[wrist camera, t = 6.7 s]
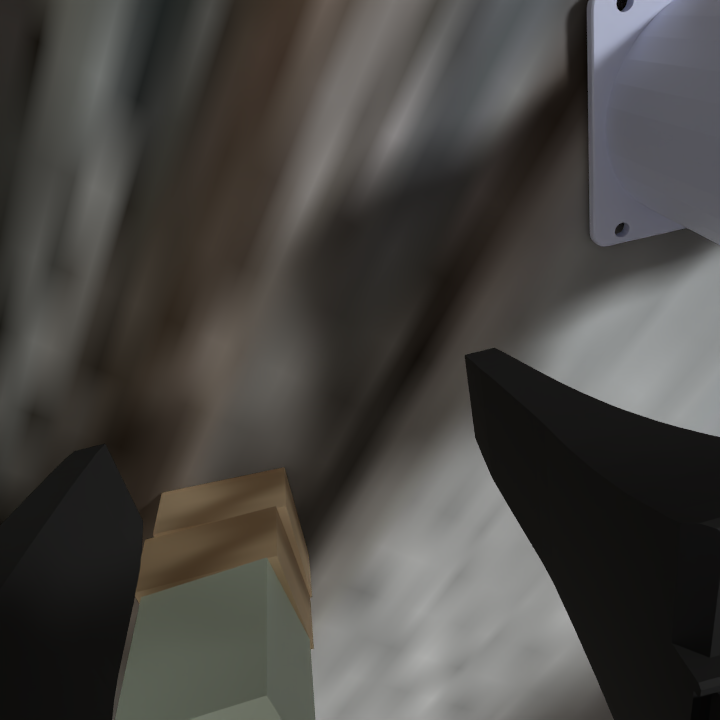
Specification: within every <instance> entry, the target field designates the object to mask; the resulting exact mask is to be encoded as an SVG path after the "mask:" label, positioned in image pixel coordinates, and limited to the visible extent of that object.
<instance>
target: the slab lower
mask: <svg viewBox="0 0 720 720" xmlns="http://www.w3.org/2000/svg"><path fill="white" fill-rule="evenodd" d="M274 506H276V508H277V510H278V513H279V515H280V518H281V521H282V523H283V526H284V529H285V531H286V534H287V537H288V539H289V542H290V545H291V547H292V550H293V552H294V555H295V558H296V560H297V563H298V566H299V568H300V571H301V574H302V576H303V579H304V582H305V584H306V587H307V589H308V592H309V595H310V597H312V589H311V577H310V564H309V554H308V550H307V547H306V543H305V540H304V536H303V532H302V529H301V525H300V522H299V518H298V514H297V511H296V507H295V504H294V500H293V496H292V493H291V489H290V486H289V482H288V478H287V475H286V471H285V468H284V467H283V468H278V469H273V470H268V471H264V472H259V473H254V474H249V475H244V476H240V477H235V478H230V479H225V480H221V481H216V482H211V483H206V484H201V485H197V486H192V487H187V488H182V489H178V490H173V491H168V492H163V493H162V494H161V499H160V504H159V508H158V513H157V517H156V522H155V527H154V531H153V536H154V537H158V536H162V535H166V534H170V533H173V532H177V531H181V530H185V529H189V528H193V527H197V526H201V525H204V524H208V523H212V522H216V521H220V520H224V519H228V518H232V517H235V516H239V515H243V514H247V513H251V512H255V511H259V510H263V509H267V508H270V507H274Z"/></svg>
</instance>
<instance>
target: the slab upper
mask: <svg viewBox="0 0 720 720" xmlns="http://www.w3.org/2000/svg"><path fill="white" fill-rule="evenodd" d="M263 558H267V559H268V561H269V563H270V564H271V566H272V568H273V570H274V572H275V574H276V576H277V578H278V580H279V582H280V583H281V585H282V587H283V589H284V591H285V593H286V595H287V597H288V599H289V601H290V602H291V604H292V606H293V608H294V610H295V612H296V614H297V616H298V618H299V620H300V622H301V623H302V625H303V627H304V629H305V631H306V633H307V635H308V637H309V639H310V649H314V645H313V631H312V618H311V604H310V595H309V592H308V589H307V587H306V584H305V582H304V579H303V576H302V574H301V571H300V568H299V566H298V563H297V560H296V558H295V555H294V552H293V550H292V547H291V545H290V542H289V539H288V537H287V534H286V531H285V529H284V526H283V523H282V521H281V518H280V515H279V513H278V510H277V508H276V506H274V507H270V508H267V509H263V510H259V511H255V512H251V513H247V514H243V515H239V516H235V517H232V518H228V519H224V520H220V521H216V522H212V523H208V524H204V525H201V526H197V527H193V528H189V529H185V530H181V531H177V532H173V533H170V534H166V535H162V536H158V537H154V538H150V539H146V540H145V543H144V547H143V551H142V556H141V566H140V572H139V578H138V583H137V588H136V593H135V597H136V599H137V601H138V603H139V604H140V600H141V597H143V596H147V595H150V594H153V593H156V592H159V591H162V590H166V589H169V588H172V587H175V586H178V585H181V584H184V583H188V582H191V581H194V580H197V579H200V578H203V577H207V576H210V575H213V574H216V573H219V572H222V571H225V570H229V569H232V568H235V567H238V566H241V565H244V564H248V563H251V562H254V561H257V560H260V559H263Z"/></svg>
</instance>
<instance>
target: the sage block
mask: <svg viewBox="0 0 720 720" xmlns="http://www.w3.org/2000/svg"><path fill="white" fill-rule="evenodd" d="M115 720H315V708H314V693H313V679H312V664H311V649H310V639H309V637H308V635H307V633H306V631H305V629H304V627H303V625H302V623H301V622H300V620H299V618H298V616H297V614H296V612H295V610H294V608H293V606H292V604H291V602H290V601H289V599H288V597H287V595H286V593H285V591H284V589H283V587H282V585H281V583H280V582H279V580H278V578H277V576H276V574H275V572H274V570H273V568H272V566H271V564H270V563H269V561H268V559H267V558H263V559H260V560H257V561H254V562H251V563H248V564H244V565H241V566H238V567H235V568H232V569H229V570H225V571H222V572H219V573H216V574H213V575H210V576H207V577H203V578H200V579H197V580H194V581H191V582H188V583H184V584H181V585H178V586H175V587H172V588H169V589H166V590H162V591H159V592H156V593H153V594H150V595H147V596H143V597H141V600H140V605H139V609H138V614H137V619H136V623H135V628H134V633H133V637H132V642H131V647H130V651H129V656H128V661H127V665H126V670H125V675H124V679H123V684H122V689H121V693H120V698H119V703H118V707H117V712H116V717H115Z"/></svg>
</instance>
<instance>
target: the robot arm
mask: <svg viewBox="0 0 720 720" xmlns="http://www.w3.org/2000/svg"><path fill="white" fill-rule="evenodd" d="M616 3H617V0H588V4H587V62H588V135H589V209H590V236H591V239H592V240H593V241H594V242H595V243H596V244H598V245H600V246H602V247H603V246H611V245H615V244H620V243H624V242H628V241H633V240H637V239H641V238H646V237H650V236H654V235H659V234H663V233H667V232H672V231H676V230H680V229H685V228H688V229H690V230H692V231H693V232H695V233H697V234H699V235H701V236H703V237H705V238H707V239H709V240H711V241H713V242H715V243H717V244H719V245H720V0H627V4H626V6H625V8H624V9H623V10H621V11H619V10H618V9H617V5H616ZM622 222H623V223H624V228H623V230H622V231H621V232H619V233H617V234H615V229H616V227H617V226H618V224H620V223H622ZM465 361H466V369H467V377H468V385H469V393H470V400H471V408H472V416H473V424H474V432H475V438H476V441H477V443H478V445H479V448H480V450H481V453H482V455H483V458H484V460H485V462H486V465H487V467H488V469H489V471H490V474H491V476H492V478H493V480H494V482H495V484H496V485H497V487H498V489H499V490H500V492H501V494H502V495H503V497H504V499H505V501H506V502H507V504H508V506H509V507H510V509H511V511H512V512H513V514H514V516H515V517H516V519H517V521H518V522H519V524H520V526H521V527H522V529H523V531H524V532H525V534H526V536H527V538H528V539H529V541H530V543H531V544H532V546H533V548H534V549H535V551H536V553H537V554H538V556H539V558H540V559H541V561H542V563H543V564H544V566H545V568H546V570H547V572H548V574H549V576H550V577H551V579H552V581H553V583H554V585H555V587H556V589H557V591H558V594H559V596H560V598H561V600H562V602H563V604H564V607H565V609H566V611H567V613H568V615H569V617H570V620H571V622H572V624H573V626H574V628H575V631H576V633H577V635H578V637H579V640H580V642H581V644H582V646H583V649H584V651H585V653H586V655H587V658H588V660H589V662H590V665H591V667H592V669H593V671H594V674H595V676H596V678H597V680H598V683H599V685H600V688H601V690H602V692H603V695H604V697H605V699H606V702H607V704H608V707H609V709H610V711H611V714H612V716H613V718H614V720H720V437H717V436H712V435H708V434H704V433H700V432H696V431H692V430H688V429H683V428H679V427H676V426H672V425H669V424H665V423H662V422H658V421H655V420H652V419H649V418H646V417H643V416H640V415H637V414H634V413H631V412H628V411H625V410H623V409H620V408H617V407H615V406H612V405H609V404H607V403H605V402H602V401H600V400H598V399H595V398H593V397H591V396H588V395H586V394H584V393H581V392H579V391H577V390H575V389H573V388H571V387H569V386H567V385H564V384H562V383H560V382H558V381H556V380H554V379H552V378H550V377H548V376H547V375H545V374H543V373H541V372H539V371H537V370H535V369H533V368H532V367H530V366H528V365H526V364H524V363H522V362H520V361H519V360H517V359H515V358H513V357H511V356H510V355H508V354H506V353H504V352H502V351H500V350H498V349H496V348H492V349H488V350H484V351H480V352H475V353H471V354H467V355H465ZM142 534H143V520H142V518H141V516H140V514H139V512H138V510H137V508H136V506H135V504H134V502H133V500H132V498H131V496H130V494H129V492H128V490H127V487H126V485H125V483H124V481H123V479H122V477H121V475H120V473H119V471H118V469H117V467H116V465H115V463H114V461H113V459H112V457H111V455H110V452H109V450H108V448H107V446H106V444H102V445H98V446H94V447H90V448H86V449H82V450H78V451H74V452H73V453H72V454H71V455H69V456H68V457H67V458H66V459H65V460H64V461H63V462H62V463H61V464H60V465H59V466H58V467H57V468H56V469H55V470H54V471H53V472H52V473H51V474H50V475H49V476H48V477H47V478H46V479H45V480H44V481H43V482H42V483H41V484H40V485H39V486H38V487H37V488H36V489H35V490H34V491H33V492H32V493H31V494H30V495H29V496H28V497H27V498H26V499H25V500H24V501H23V502H22V504H21V505H20V506H19V507H18V508H17V509H16V510H15V511H14V512H13V513H12V514H11V515H10V516H9V517H8V518H7V519H6V520H5V521H4V522H3V523H2V524H1V525H0V720H112V715H113V705H114V697H115V691H116V685H117V679H118V673H119V669H120V664H121V659H122V654H123V650H124V645H125V640H126V636H127V631H128V626H129V622H130V617H131V612H132V607H133V603H134V598H135V593H136V588H137V583H138V578H139V572H140V566H141V553H142Z"/></svg>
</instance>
